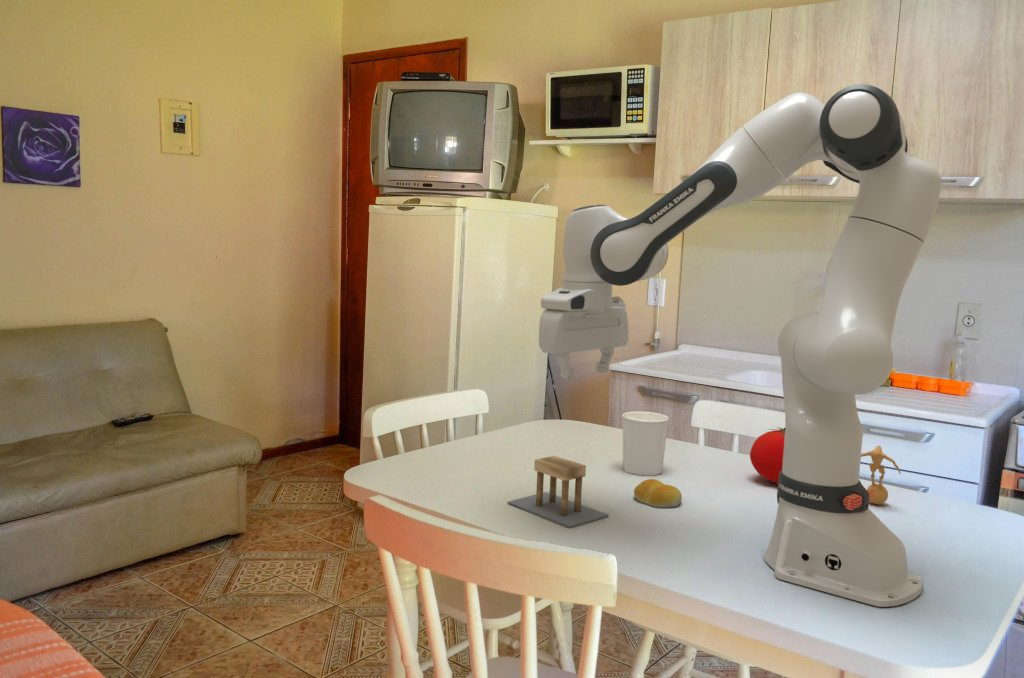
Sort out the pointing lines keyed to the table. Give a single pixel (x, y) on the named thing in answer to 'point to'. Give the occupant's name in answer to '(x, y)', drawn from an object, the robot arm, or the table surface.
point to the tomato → (768, 454)
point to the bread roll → (657, 494)
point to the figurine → (880, 490)
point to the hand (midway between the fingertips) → (584, 374)
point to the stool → (564, 472)
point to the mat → (558, 511)
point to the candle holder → (644, 442)
